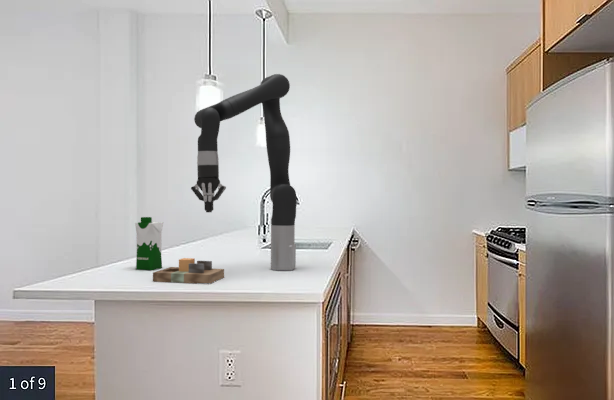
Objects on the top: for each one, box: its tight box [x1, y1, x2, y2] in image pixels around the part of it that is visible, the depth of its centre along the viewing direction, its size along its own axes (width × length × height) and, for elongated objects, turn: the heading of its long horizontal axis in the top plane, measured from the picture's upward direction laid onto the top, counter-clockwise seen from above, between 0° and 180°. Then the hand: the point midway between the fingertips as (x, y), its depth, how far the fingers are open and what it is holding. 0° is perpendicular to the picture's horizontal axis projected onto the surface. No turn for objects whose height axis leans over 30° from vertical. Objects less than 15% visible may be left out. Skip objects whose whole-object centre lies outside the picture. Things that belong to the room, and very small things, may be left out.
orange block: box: [178, 257, 196, 272], centre depth 191 cm, size 4×4×4 cm
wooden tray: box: [152, 260, 225, 284], centre depth 191 cm, size 20×14×6 cm
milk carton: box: [134, 216, 164, 271], centre depth 215 cm, size 9×9×20 cm
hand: (208, 212), depth 201 cm, fingers closed
